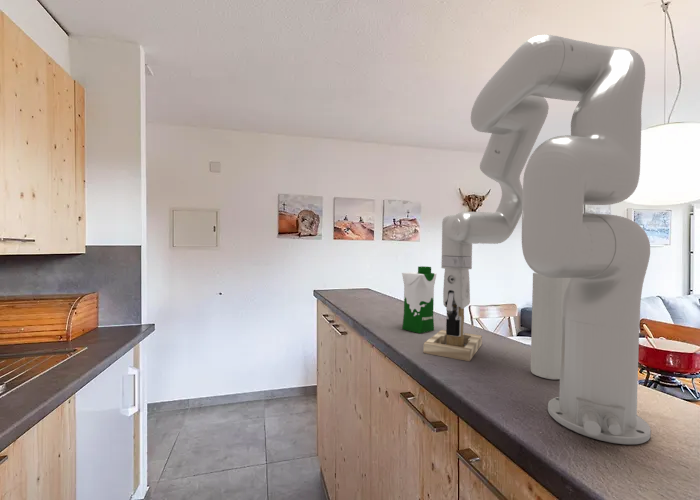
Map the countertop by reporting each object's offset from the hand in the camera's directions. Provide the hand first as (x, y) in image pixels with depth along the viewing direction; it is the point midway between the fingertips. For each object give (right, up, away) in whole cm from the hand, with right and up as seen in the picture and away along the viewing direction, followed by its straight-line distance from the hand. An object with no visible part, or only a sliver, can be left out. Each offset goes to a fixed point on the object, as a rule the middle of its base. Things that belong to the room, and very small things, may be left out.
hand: (455, 332), depth 88 cm
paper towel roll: (+14, -5, -18) cm, 23 cm away
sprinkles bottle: (0, -4, 0) cm, 4 cm away
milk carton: (-6, -4, +19) cm, 20 cm away
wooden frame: (0, -4, 0) cm, 4 cm away
